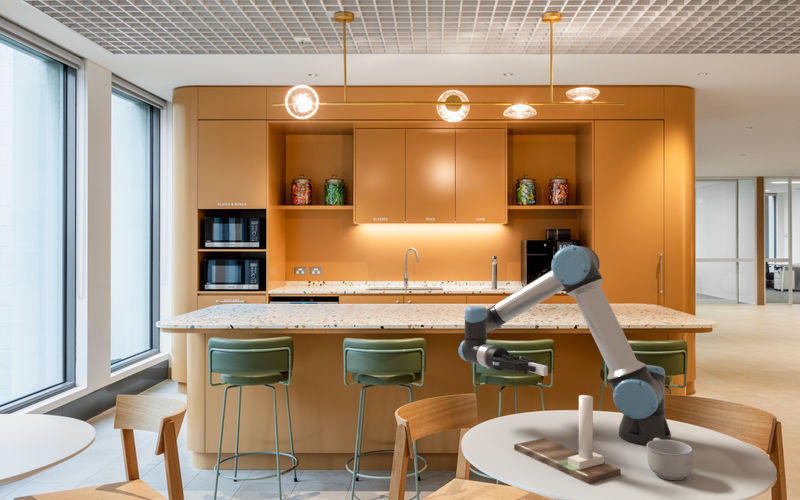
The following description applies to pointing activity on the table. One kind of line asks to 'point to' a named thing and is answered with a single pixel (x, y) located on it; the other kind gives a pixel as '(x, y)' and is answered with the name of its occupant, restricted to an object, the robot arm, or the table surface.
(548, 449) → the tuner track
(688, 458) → the teacup
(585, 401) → the tuning slider
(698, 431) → the table surface
